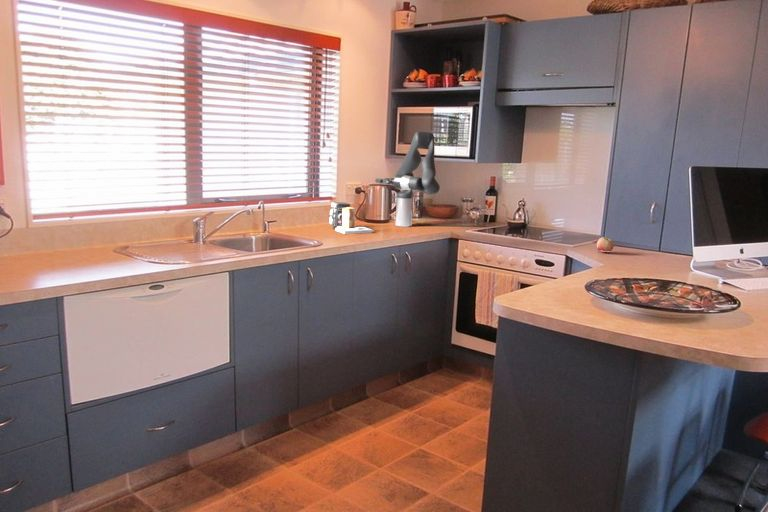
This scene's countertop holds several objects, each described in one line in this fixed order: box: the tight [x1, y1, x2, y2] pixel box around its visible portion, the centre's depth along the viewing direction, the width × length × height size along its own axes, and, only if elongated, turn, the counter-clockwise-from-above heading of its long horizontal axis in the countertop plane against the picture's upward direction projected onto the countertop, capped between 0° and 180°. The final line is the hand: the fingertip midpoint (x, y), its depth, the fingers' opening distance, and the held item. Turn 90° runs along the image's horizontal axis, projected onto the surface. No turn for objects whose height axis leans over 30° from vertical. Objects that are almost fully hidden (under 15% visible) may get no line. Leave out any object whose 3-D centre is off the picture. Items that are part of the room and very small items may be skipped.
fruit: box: [596, 236, 615, 252], centre depth 314 cm, size 8×8×8 cm
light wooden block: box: [342, 206, 356, 229], centre depth 343 cm, size 5×5×12 cm
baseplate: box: [334, 226, 374, 235], centre depth 346 cm, size 18×12×2 cm, turn 119°
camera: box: [328, 201, 351, 229], centre depth 354 cm, size 10×10×15 cm
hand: (380, 180), depth 336 cm, fingers open, 8 cm apart
